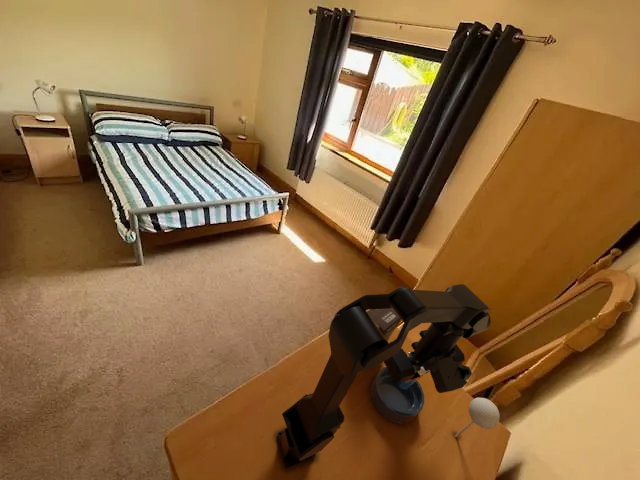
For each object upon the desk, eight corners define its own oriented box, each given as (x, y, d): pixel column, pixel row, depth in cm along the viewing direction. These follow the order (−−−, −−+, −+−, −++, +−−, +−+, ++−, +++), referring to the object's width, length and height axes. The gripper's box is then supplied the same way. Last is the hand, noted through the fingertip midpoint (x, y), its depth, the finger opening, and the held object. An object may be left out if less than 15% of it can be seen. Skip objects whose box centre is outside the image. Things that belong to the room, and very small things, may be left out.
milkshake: (410, 399, 70) (430, 376, 64) (390, 383, 72) (408, 359, 66) (417, 385, 73) (437, 362, 68) (398, 370, 75) (416, 346, 70)
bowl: (385, 431, 70) (392, 422, 67) (361, 381, 79) (367, 371, 76) (426, 416, 75) (434, 407, 73) (399, 370, 84) (406, 361, 81)
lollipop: (470, 454, 70) (509, 426, 62) (446, 445, 71) (481, 416, 62) (465, 426, 76) (501, 397, 67) (442, 418, 76) (475, 388, 67)
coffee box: (362, 367, 82) (383, 331, 72) (345, 349, 85) (364, 312, 76) (382, 351, 87) (405, 315, 78) (366, 335, 91) (386, 298, 81)
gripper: (429, 386, 52) (394, 426, 61) (500, 364, 60) (460, 402, 69) (395, 332, 60) (369, 374, 69) (462, 318, 68) (431, 358, 77)
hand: (408, 377), depth 71 cm, fingers closed on milkshake, 4 cm apart
